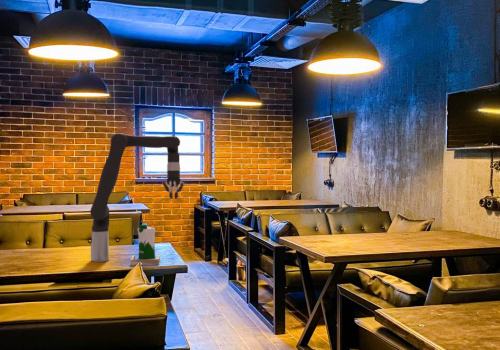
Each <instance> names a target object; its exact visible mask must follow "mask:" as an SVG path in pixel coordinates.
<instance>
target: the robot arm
mask: <svg viewBox="0 0 500 350" xmlns="http://www.w3.org/2000/svg"><path fill="white" fill-rule="evenodd" d="M180 145H181V140H180V138H179V137H177V136H176V135H175V136H174V135H166V136H163V135H129V134H124V133H121V132H117V133H114V134H112V136H111V138H110V147H109V152H108V156H107V159H106V160H105V163H104V165H103V168H102V170H101V172H100V173H101V174H100V178H99V182H98V186H97V191H96V194H95V197H94V200H93V203H92V205H91V207H90V211H89V213H90V216H91V218H92V221H93V222H92V226H91V244H90V261H92V262H95V263H99V262H108V261H109V257H110V256H109V253H110V251H109V243H110V242H109V227H110V208H109V206H108V203H109V198H110V196H111V195H112V193H113V190H114V189H115V187H116V183H117V181H118V177H119V173H120V169H121V162H122V158H123V155H124V153H125V149H126V148H129V147H136V148H137V147H138V148H140V147H141V148H146V149H147V148H151V149H152V148H153V149H162V148H166V149H167V164H166V166H167V167H166V171H167V172H166V173H167V175H166V176H167V178H166V181H165V182H162V185H163V187H164V190H165V191H166V192H168V193H169V198H170V199H171V200H172V199H173V197H174V199H175V200H177V199H178V198H179V192H181V191H182V190H183V188H184V186H185V182H183V181H182V180H181V164H180V153H179V146H180ZM173 188H174V189H173ZM173 190H174V193H173ZM173 194H174V195H173Z"/></svg>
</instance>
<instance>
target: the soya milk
mask: <svg viewBox="0 0 500 350" xmlns="http://www.w3.org/2000/svg"><path fill="white" fill-rule="evenodd" d="M137 233H138V257H137V259H138V260H142V259H156V248H155V243H156V241H155V240H156V239H155V238H156V237H155V234H156V227H149V226H148V224H139V227H138V228H137Z"/></svg>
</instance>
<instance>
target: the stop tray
mask: <svg viewBox="0 0 500 350" xmlns="http://www.w3.org/2000/svg"><path fill="white" fill-rule="evenodd" d="M160 261H161V255H160V254H159V253H158V254H157V256H156V258H153V259H136V255H135V254H133V255H132V256H131V257H130V259H129V262H130V263H129V265H130V266H132V267H133V266H134V265H137V264H138V263H139V262H141V263H142V265H141V266H159V265H160ZM137 266H138V265H137Z"/></svg>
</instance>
